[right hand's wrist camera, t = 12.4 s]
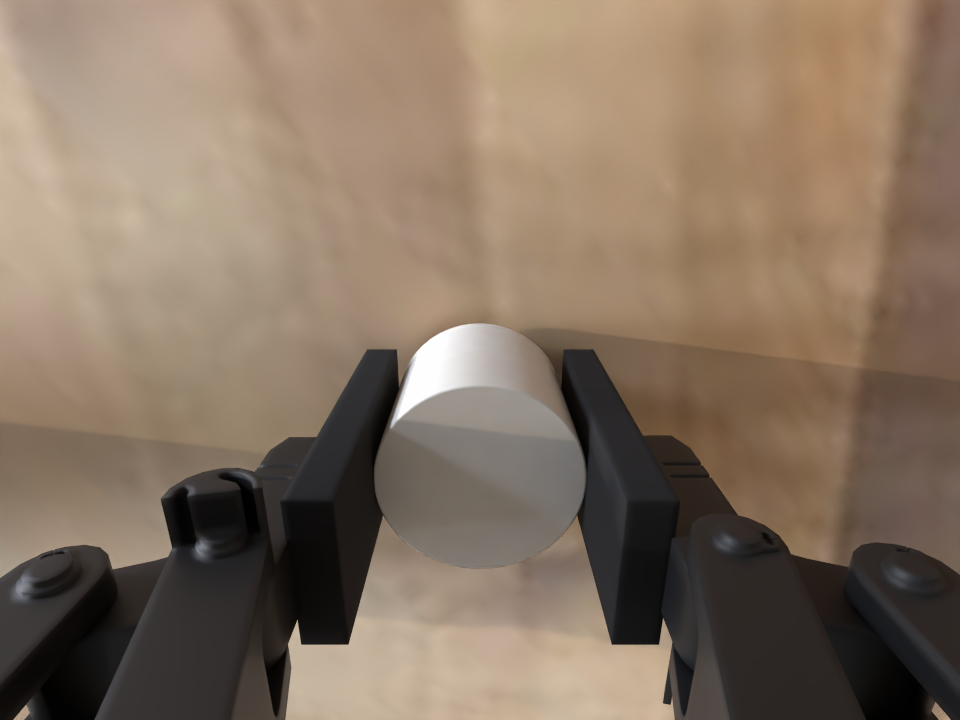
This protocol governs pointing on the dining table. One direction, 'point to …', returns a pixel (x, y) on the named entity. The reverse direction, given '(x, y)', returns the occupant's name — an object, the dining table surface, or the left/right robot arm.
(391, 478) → the canister
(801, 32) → the dining table surface
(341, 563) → the right robot arm
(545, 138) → the dining table surface
